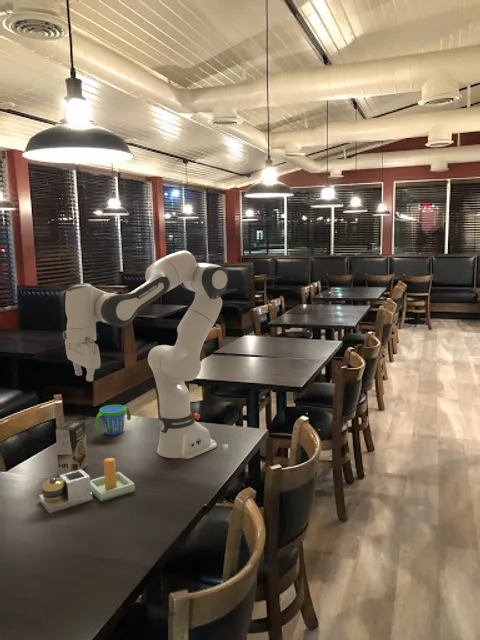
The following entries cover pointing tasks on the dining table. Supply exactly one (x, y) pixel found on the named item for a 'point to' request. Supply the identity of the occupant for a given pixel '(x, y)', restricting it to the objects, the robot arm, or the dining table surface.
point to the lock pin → (110, 473)
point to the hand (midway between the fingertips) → (84, 377)
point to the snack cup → (112, 418)
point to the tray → (102, 494)
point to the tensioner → (66, 491)
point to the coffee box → (71, 447)
